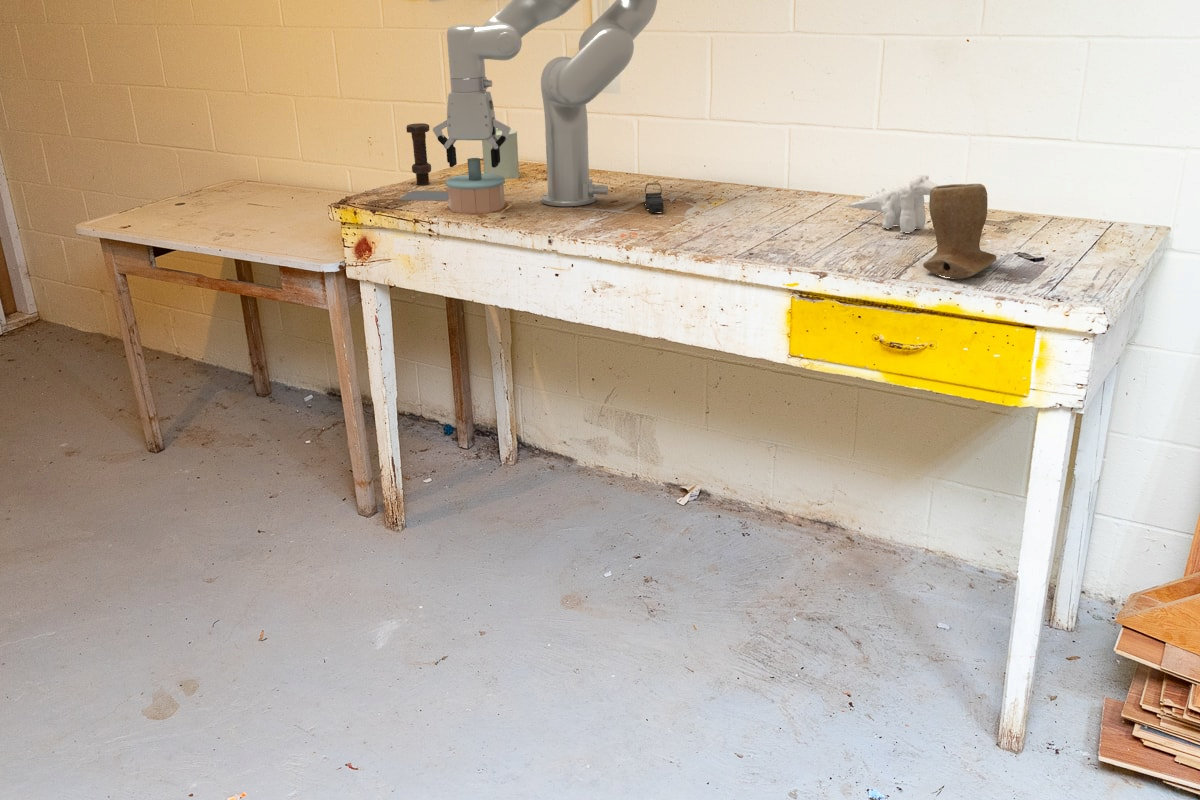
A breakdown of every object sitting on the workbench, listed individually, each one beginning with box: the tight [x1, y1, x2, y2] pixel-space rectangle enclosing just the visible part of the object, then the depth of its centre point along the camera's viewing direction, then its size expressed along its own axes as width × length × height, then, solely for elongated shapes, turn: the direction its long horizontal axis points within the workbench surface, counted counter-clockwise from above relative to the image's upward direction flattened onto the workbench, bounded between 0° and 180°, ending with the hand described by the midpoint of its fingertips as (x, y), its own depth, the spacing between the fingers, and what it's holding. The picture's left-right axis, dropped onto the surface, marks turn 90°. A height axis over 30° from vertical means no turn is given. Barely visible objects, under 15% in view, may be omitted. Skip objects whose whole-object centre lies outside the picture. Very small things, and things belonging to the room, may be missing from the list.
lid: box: [445, 157, 506, 189], centre depth 231 cm, size 13×13×5 cm
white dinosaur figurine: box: [844, 174, 940, 233], centre depth 208 cm, size 7×24×11 cm, turn 45°
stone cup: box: [922, 183, 997, 280], centre depth 180 cm, size 15×12×15 cm
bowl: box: [447, 184, 506, 215], centre depth 234 cm, size 12×12×6 cm
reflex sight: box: [643, 182, 664, 213], centre depth 230 cm, size 4×10×5 cm, turn 1°
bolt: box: [405, 122, 432, 186], centre depth 257 cm, size 6×5×15 cm
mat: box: [397, 190, 449, 202], centre depth 247 cm, size 12×10×1 cm
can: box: [481, 128, 521, 180], centre depth 266 cm, size 9×9×12 cm
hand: (474, 166), depth 231 cm, fingers open, 9 cm apart
